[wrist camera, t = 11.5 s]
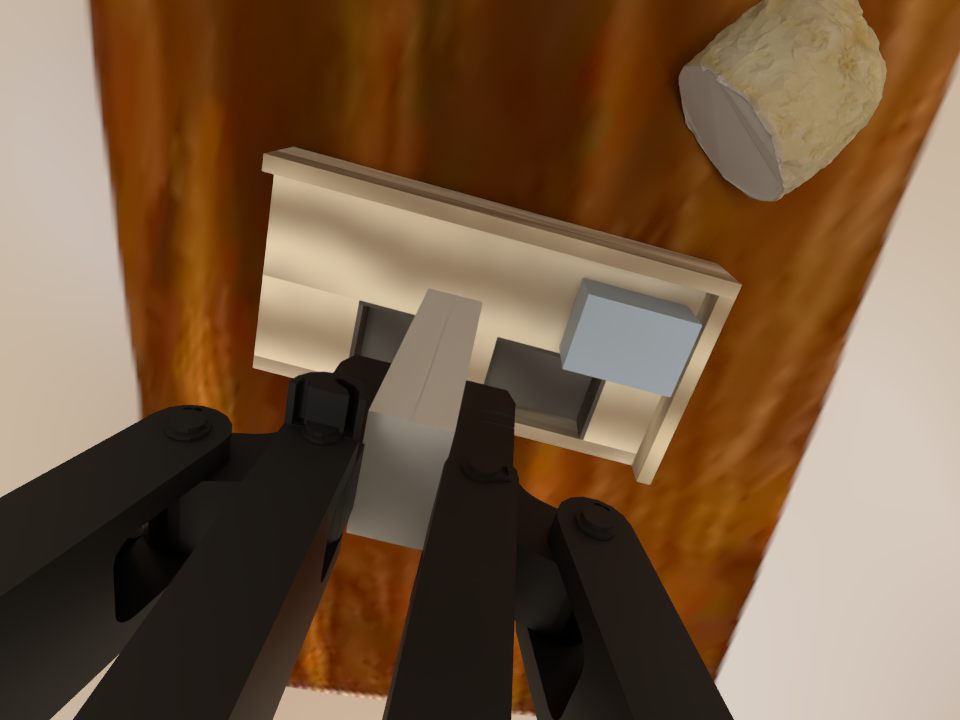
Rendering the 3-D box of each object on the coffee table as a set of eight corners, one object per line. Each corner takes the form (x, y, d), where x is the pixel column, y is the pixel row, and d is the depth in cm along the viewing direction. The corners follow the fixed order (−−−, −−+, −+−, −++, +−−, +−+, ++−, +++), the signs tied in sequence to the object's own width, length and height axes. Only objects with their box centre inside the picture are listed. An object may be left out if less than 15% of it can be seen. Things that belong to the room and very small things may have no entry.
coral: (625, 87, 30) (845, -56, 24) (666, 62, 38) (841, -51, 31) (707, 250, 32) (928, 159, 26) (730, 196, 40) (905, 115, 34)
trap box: (294, 146, 39) (263, 153, 34) (717, 263, 40) (742, 284, 36) (269, 351, 45) (240, 379, 40) (637, 446, 46) (650, 484, 42)
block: (583, 277, 38) (588, 294, 35) (687, 306, 38) (702, 325, 35) (559, 347, 40) (562, 368, 37) (658, 373, 40) (670, 397, 37)
